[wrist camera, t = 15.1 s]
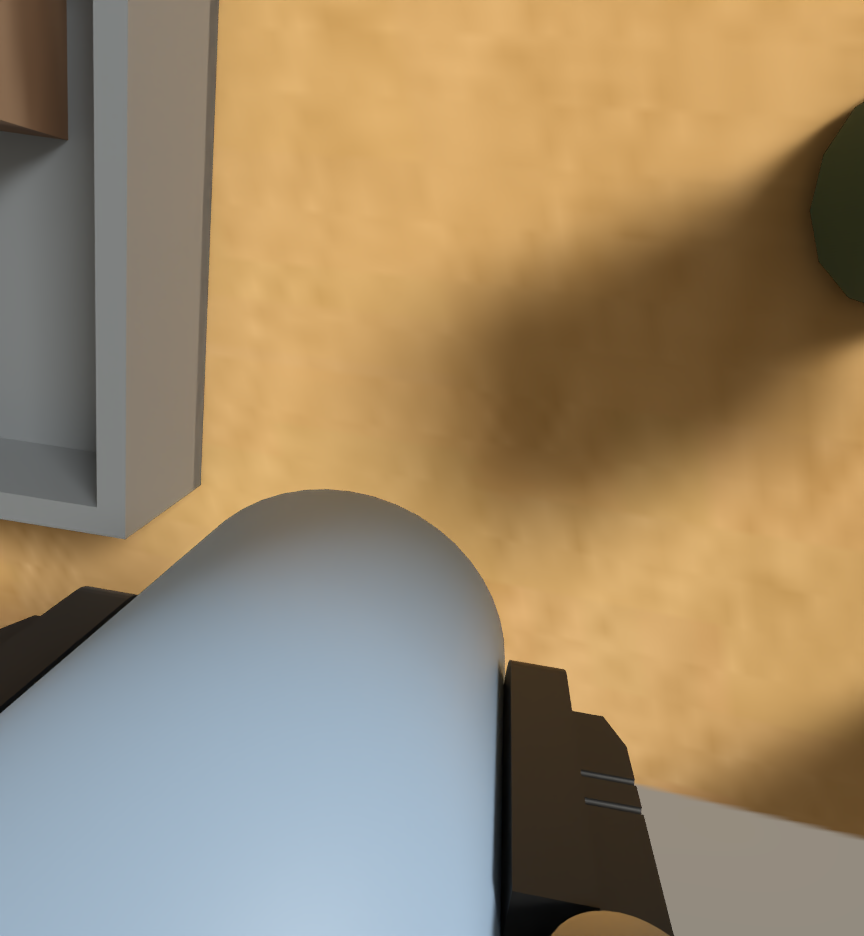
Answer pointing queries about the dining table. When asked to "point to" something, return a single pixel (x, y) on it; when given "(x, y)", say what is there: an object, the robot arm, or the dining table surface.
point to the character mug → (842, 207)
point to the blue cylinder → (269, 742)
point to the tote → (110, 274)
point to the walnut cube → (34, 68)
